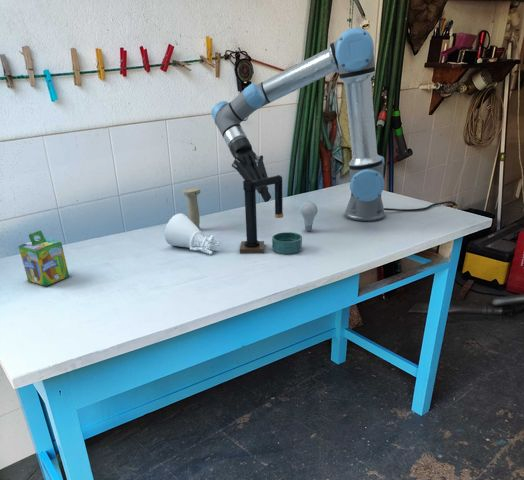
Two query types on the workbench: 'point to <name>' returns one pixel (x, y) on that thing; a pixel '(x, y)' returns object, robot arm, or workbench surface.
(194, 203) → the handle
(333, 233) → the workbench surface
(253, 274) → the workbench surface
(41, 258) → the chalk box
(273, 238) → the basin
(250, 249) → the black post
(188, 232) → the rocket engine
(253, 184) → the spout
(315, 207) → the lightbulb
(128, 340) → the workbench surface
